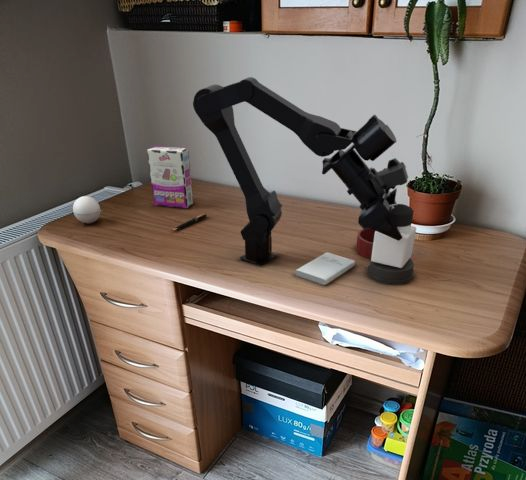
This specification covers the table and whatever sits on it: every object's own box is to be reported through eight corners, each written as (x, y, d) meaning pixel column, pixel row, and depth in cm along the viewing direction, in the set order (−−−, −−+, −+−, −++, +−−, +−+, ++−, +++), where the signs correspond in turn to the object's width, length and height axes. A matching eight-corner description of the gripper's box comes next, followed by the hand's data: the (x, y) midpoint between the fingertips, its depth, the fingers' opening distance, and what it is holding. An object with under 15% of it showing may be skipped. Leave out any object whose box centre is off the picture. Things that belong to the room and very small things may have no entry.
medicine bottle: (411, 256, 116) (421, 204, 109) (401, 269, 111) (411, 215, 104) (381, 250, 119) (388, 199, 112) (370, 261, 114) (377, 208, 107)
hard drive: (295, 275, 117) (325, 257, 124) (325, 286, 112) (355, 266, 120) (295, 269, 116) (325, 251, 123) (325, 279, 111) (355, 260, 119)
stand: (402, 289, 111) (404, 276, 109) (358, 276, 116) (360, 264, 114) (421, 271, 118) (423, 259, 116) (379, 260, 123) (380, 248, 121)
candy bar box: (194, 203, 157) (189, 147, 148) (187, 209, 153) (182, 151, 144) (161, 200, 160) (154, 145, 150) (153, 205, 156) (146, 149, 146)
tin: (392, 265, 121) (394, 249, 118) (347, 253, 126) (349, 237, 124) (412, 248, 128) (415, 233, 126) (369, 237, 134) (371, 222, 132)
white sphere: (70, 225, 143) (64, 199, 139) (87, 216, 149) (82, 191, 145) (99, 230, 140) (93, 204, 136) (115, 221, 146) (111, 195, 141)
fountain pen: (174, 233, 138) (173, 228, 137) (170, 232, 139) (170, 227, 138) (208, 217, 148) (208, 212, 147) (205, 216, 148) (205, 211, 147)
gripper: (383, 161, 95) (433, 225, 99) (392, 138, 110) (435, 194, 113) (337, 199, 101) (386, 257, 105) (351, 172, 116) (394, 225, 120)
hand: (402, 232), depth 111 cm, fingers closed on medicine bottle, 8 cm apart
